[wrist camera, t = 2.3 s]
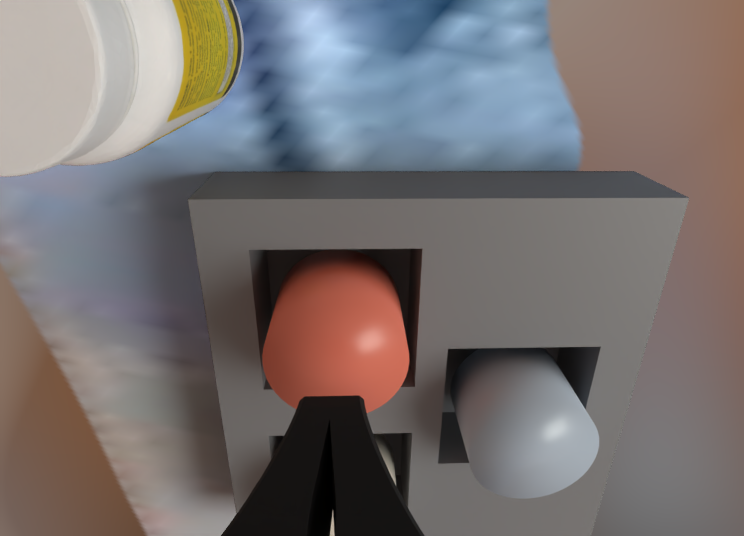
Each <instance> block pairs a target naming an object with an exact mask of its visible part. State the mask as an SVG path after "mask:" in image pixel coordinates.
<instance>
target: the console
mask: <svg viewBox="0 0 744 536" xmlns="http://www.w3.org/2000/svg"><path fill="white" fill-rule="evenodd" d="M688 200H689V198H688V197H686V196H684V195H682V194H680V193H678V192H676V191H674V190H672V189H670V188H668V187H666V186H664V185H662V184H659V183H657V182H655V181H653V180H651V179H649V178H647V177H645V176H643V175H641V174H639V173H637V172H634V171H603V172H602V171H540V172H215V173H214V174H213V175H212V176H211V177H210V178H209V179H208V180H207V181H206V182H205V183H204V184H203V185H202V186H201V187H200V188H199V189H198V190H197V191H196V192H195V193H194V194H193V195H192V196H191V197H190V198H189V199H188V204H189V211H190V217H191V224H192V230H193V237H194V243H195V249H196V256H197V262H198V269H199V275H200V282H201V288H202V294H203V301H204V307H205V314H206V320H207V327H208V333H209V339H210V346H211V352H212V359H213V365H214V372H215V378H216V384H217V391H218V397H219V404H220V410H221V417H222V423H223V429H224V436H225V442H226V449H227V455H228V462H229V468H230V474H231V481H232V487H233V494H234V500H235V507H236V513H238V512H239V510H240V509H241V507H242V506H243V504H244V503H245V501H246V500H247V498H248V496H249V495H250V493H251V492H252V490H253V489H254V487H255V486H256V484H257V483H258V481H259V479H260V478H261V476H262V475H263V473H264V471H265V470H266V468H267V466H268V464H269V463H270V461H271V459H272V457H273V456H274V454H275V452H276V450H277V448H278V447H279V445H280V443H281V441H282V439H283V437H284V435H285V433H286V431H287V429H288V427H289V425H290V423H291V421H292V419H293V416H294V414H295V412H296V409H295V408H293V407H292V406H290V405H288V404H287V403H286V402H285V401H283V400H282V399H281V398H280V397H279V396H278V395H277V394H276V393H275V392H274V390H273V389H272V387H271V386H270V384H269V382H268V380H267V378H266V376H265V373H264V369H263V362H262V354H263V347H264V344H265V340H266V336H267V333H268V329H269V326H270V322H271V319H272V315H273V311H274V308H275V304H276V301H277V297H278V294H279V290H280V287H281V284H282V282H283V280H284V278H285V276H286V275H287V273H288V272H289V271H290V270H291V268H292V267H293V266H294V265H296V264H297V263H298V262H299V261H301V260H302V259H304V258H305V257H307V256H309V255H311V254H314V253H317V252H320V251H324V250H329V249H347V250H352V251H356V252H360V253H363V254H365V255H367V256H369V257H371V258H373V259H374V260H376V261H377V262H379V263H380V264H381V265H382V266H383V267H384V268H385V269H386V270H387V271H388V272H389V274H390V275H391V277H392V278H393V280H394V282H395V284H396V287H397V290H398V295H399V301H400V306H401V312H402V317H403V323H404V328H405V334H406V339H407V345H408V350H409V367H408V372H407V375H406V378H405V380H404V382H403V384H402V386H401V387H400V389H399V390H398V391H397V393H396V394H395V395H394V396H393V397H392V398H391V399H390V400H389V401H388V402H386V403H385V404H383V405H382V406H381V407H379V408H377V409H375V410H373V411H371V412H369V413H367V416H368V420H369V423H370V426H371V429H372V432H373V434H382V435H383V436H384V437H385V438H386V440H387V441H388V442H389V444H390V446H391V448H392V452H393V458H394V468H395V477H396V487H397V488H398V490H399V492H400V494H401V496H402V498H403V500H404V502H405V503H406V505H407V507H408V509H409V511H410V512H411V514H412V516H413V518H414V519H415V521H416V523H417V524H418V526H419V528H420V529H421V531H422V532H423V534H424V536H591V534H592V530H593V527H594V523H595V520H596V516H597V513H598V510H599V506H600V503H601V499H602V496H603V492H604V489H605V485H606V482H607V479H608V475H609V472H610V468H611V464H612V461H613V458H614V454H615V451H616V447H617V444H618V441H619V437H620V434H621V430H622V427H623V424H624V420H625V417H626V413H627V410H628V406H629V403H630V400H631V396H632V392H633V389H634V386H635V382H636V379H637V375H638V372H639V369H640V365H641V362H642V358H643V355H644V351H645V348H646V345H647V341H648V338H649V334H650V331H651V327H652V324H653V320H654V317H655V313H656V310H657V306H658V303H659V300H660V296H661V293H662V289H663V286H664V282H665V279H666V276H667V272H668V269H669V265H670V262H671V258H672V255H673V251H674V248H675V245H676V241H677V238H678V234H679V230H680V228H681V224H682V221H683V217H684V214H685V210H686V207H687V203H688ZM538 347H541V348H543V349H545V350H546V351H547V352H548V353H549V354H550V355H551V356H552V357H553V359H554V360H555V362H556V363H557V365H558V367H559V368H560V370H561V371H562V373H563V374H564V376H565V378H566V379H567V381H568V382H569V384H570V386H571V387H572V389H573V390H574V392H575V394H576V395H577V397H578V398H579V400H580V402H581V403H582V405H583V406H584V408H585V410H586V411H587V413H588V414H589V416H590V418H591V419H592V421H593V422H594V424H595V426H596V428H597V431H598V434H599V449H598V453H597V455H596V458H595V460H594V462H593V464H592V465H591V466H590V468H589V469H588V470H587V472H586V473H585V474H584V475H583V476H582V477H580V478H579V479H578V480H577V481H576V482H574V483H573V484H571V485H570V486H568V487H566V488H564V489H562V490H560V491H558V492H555V493H553V494H550V495H546V496H542V497H537V498H528V499H517V498H509V497H505V496H501V495H498V494H495V493H493V492H491V491H489V490H488V489H486V488H485V487H483V486H482V485H481V484H480V483H479V482H478V481H477V479H476V478H475V476H474V475H473V473H472V470H471V467H470V463H469V460H468V456H467V453H466V449H465V445H464V442H463V438H462V434H461V431H460V427H459V424H458V420H457V416H456V413H455V409H454V406H453V402H452V398H451V383H452V379H453V376H454V374H455V372H456V370H457V369H458V367H459V366H460V364H461V363H462V362H463V361H464V360H465V359H466V358H467V357H468V356H469V355H470V354H472V353H473V352H475V351H476V350H478V349H480V348H538Z"/></svg>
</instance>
